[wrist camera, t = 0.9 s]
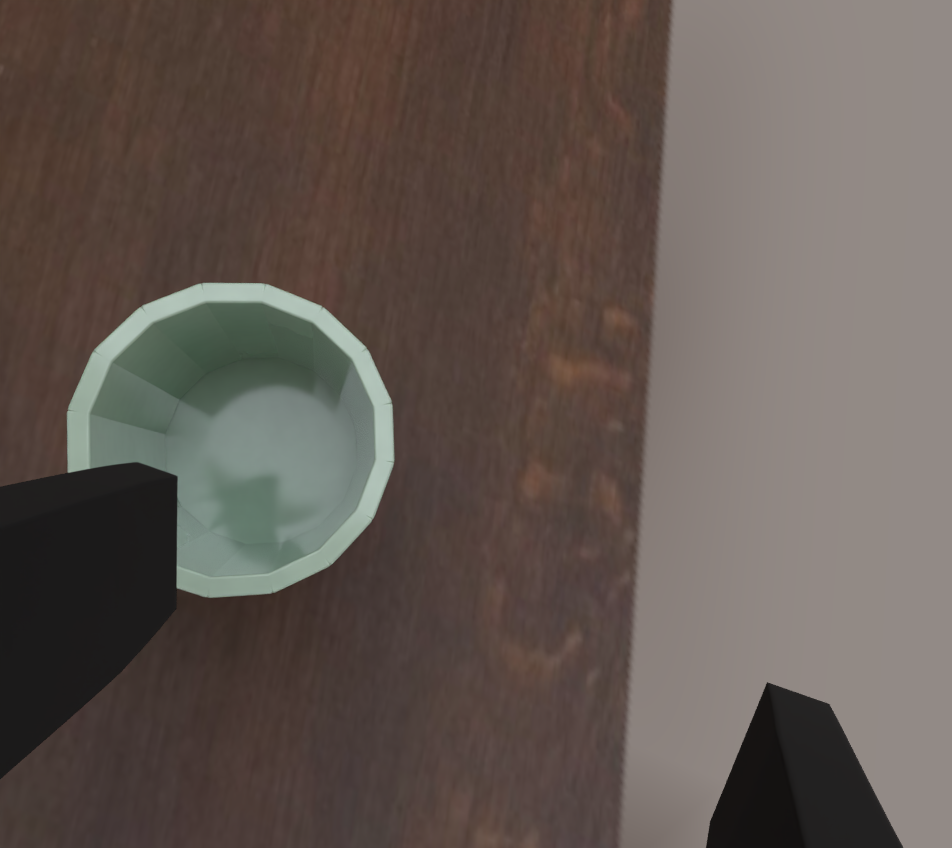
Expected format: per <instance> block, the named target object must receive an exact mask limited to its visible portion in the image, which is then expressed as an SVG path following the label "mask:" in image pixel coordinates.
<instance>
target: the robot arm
mask: <svg viewBox="0 0 952 848" xmlns="http://www.w3.org/2000/svg"><path fill="white" fill-rule="evenodd" d="M177 490H178V476H176V475H174V474H171V473H168V472H165V471H162V470H159V469H156V468H154V467H151V466H148V465H145V464H142V463H139V462H132V463H123V464H115V465H109V466H102V467H97V468H91V469H85V470H80V471H75V472H70V473H65V474H60V475H55V476H50V477H45V478H40V479H36V480H31V481H26V482H21V483H17V484H12V485H7V486H2V487H0V779H1V778H2V777H3V776H4V775H5V774H7V773H8V772H9V771H10V770H11V769H12V768H13V767H15V766H16V765H17V764H18V763H19V762H20V761H21V760H23V759H24V758H25V757H26V756H27V755H28V754H29V753H31V752H32V751H33V750H34V749H35V748H36V747H37V746H39V745H40V744H41V743H42V742H43V741H44V740H45V739H47V738H48V737H49V736H50V735H51V734H52V733H53V732H55V731H56V730H57V729H58V728H59V727H60V726H61V725H63V724H64V723H65V722H66V721H67V720H68V719H69V718H71V717H72V716H73V715H74V714H75V713H76V712H77V711H78V710H79V709H81V708H82V707H83V706H84V705H85V704H86V703H87V702H88V701H90V700H91V699H92V698H93V697H94V696H95V695H96V694H97V693H99V692H100V691H101V690H102V689H103V688H104V687H105V686H106V685H107V684H108V683H110V682H111V681H112V680H113V679H114V678H115V677H116V676H117V675H118V674H119V673H120V672H122V670H123V669H124V668H125V667H126V666H127V665H128V664H129V663H130V662H131V661H132V659H133V658H134V657H135V656H136V655H137V654H138V653H139V652H140V651H141V650H142V648H143V647H144V646H145V645H146V644H147V643H148V642H149V641H150V639H151V638H152V637H153V636H154V635H155V633H156V632H157V631H158V630H159V629H160V628H161V626H162V625H163V624H164V623H165V622H166V620H167V619H168V618H169V617H170V616H171V614H172V613H173V612H174V611H175V610H176V597H177ZM706 848H903V846H902V844H901V842H900V841H899V839H898V837H897V835H896V833H895V831H894V829H893V827H892V826H891V824H890V822H889V820H888V818H887V816H886V814H885V812H884V810H883V808H882V806H881V804H880V803H879V800H878V799H877V797H876V795H875V793H874V791H873V789H872V787H871V785H870V783H869V781H868V779H867V777H866V775H865V773H864V771H863V769H862V767H861V765H860V763H859V761H858V759H857V757H856V755H855V753H854V751H853V749H852V747H851V745H850V743H849V741H848V739H847V737H846V735H845V733H844V731H843V729H842V727H841V726H840V724H839V722H838V720H837V718H836V716H835V714H834V712H833V710H832V708H831V707H830V705H829V704H827V703H825V702H822V701H819V700H816V699H813V698H810V697H807V696H805V695H802V694H799V693H796V692H793V691H790V690H787V689H784V688H782V687H779V686H776V685H773V684H770V683H767V684H766V687H765V689H764V692H763V694H762V697H761V699H760V701H759V704H758V706H757V709H756V711H755V714H754V716H753V719H752V721H751V723H750V726H749V728H748V731H747V733H746V736H745V738H744V741H743V743H742V745H741V748H740V750H739V753H738V755H737V758H736V760H735V762H734V765H733V767H732V770H731V772H730V775H729V777H728V780H727V782H726V785H725V787H724V789H723V792H722V794H721V797H720V799H719V801H718V804H717V806H716V809H715V811H714V814H713V817H712V818H711V821H710V826H709V833H708V840H707V846H706Z"/></svg>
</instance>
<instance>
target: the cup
mask: <svg viewBox="0 0 952 848" xmlns="http://www.w3.org/2000/svg"><path fill="white" fill-rule="evenodd" d="M391 403H392V401H391V398H390V396H389V394H388V392H387V390H386V387H385V385H384V383H383V381H382V379H381V376H380V374H379V372H378V370H377V368H376V365H375V363H374V361H373V359H372V357H371V354H370V352H369V350H368V349H367V348H366V346H365V345H364V344H363V343H362V342H360V341H359V340H358V339H357V338H356V337H355V336H354V335H353V334H352V333H351V332H350V331H349V330H348V329H347V328H346V327H345V326H344V325H343V324H341V323H340V322H339V321H338V320H337V319H336V318H335V317H334V316H333V315H332V314H331V313H330V312H329V311H328V310H327V309H326V308H324V307H322V306H321V305H319V304H316V303H314V302H311V301H309V300H306V299H304V298H301V297H299V296H296V295H293V294H291V293H288V292H286V291H283V290H281V289H278V288H276V287H273V286H271V285H268V284H263V283H202V284H197V285H194V286H191V287H189V288H186V289H184V290H181V291H178V292H176V293H173V294H171V295H168V296H165V297H163V298H160V299H158V300H155V301H152V302H150V303H147V304H145V305H143V306H142V307H140V308H138V309H137V310H136V311H135V312H134V313H133V314H131V315H130V316H129V317H128V318H127V319H126V320H125V321H124V322H123V323H122V324H121V325H120V326H119V327H118V328H117V329H116V330H114V331H113V332H112V333H111V334H110V335H109V336H108V337H107V338H106V339H105V340H104V341H103V342H102V343H101V344H100V345H99V346H97V347H96V348H95V350H94V352H93V353H92V354H91V356H90V359H89V361H88V363H87V365H86V368H85V370H84V372H83V375H82V377H81V379H80V381H79V384H78V386H77V388H76V391H75V393H74V395H73V398H72V400H71V402H70V404H69V407H68V410H69V411H68V412H67V473H70V472H75V471H80V470H85V469H91V468H97V467H102V466H109V465H115V464H123V463H132V462H139V463H142V464H145V465H148V466H151V467H154V468H156V469H159V470H162V471H165V472H168V473H171V474H174V475H176V476H178V490H177V588H178V589H181V590H184V591H187V592H190V593H193V594H196V595H199V596H202V597H208V598H219V597H234V596H249V595H263V594H271V593H272V592H273V593H276V592H278V591H280V590H282V589H284V588H286V587H288V586H290V585H292V584H294V583H297V582H299V581H301V580H303V579H305V578H307V577H309V576H311V575H313V574H315V573H317V572H320V571H322V570H324V569H326V568H328V567H329V566H330V565H332V564H333V563H334V562H335V561H336V560H337V559H338V558H339V557H340V556H341V555H342V554H343V552H344V551H345V550H346V549H347V548H348V547H349V546H350V545H351V544H352V543H353V542H354V541H355V539H356V538H357V537H358V536H359V535H360V534H361V533H362V532H363V531H364V530H365V529H366V527H367V526H368V525H369V524H370V523H371V522H372V519H373V518H374V517H375V514H376V512H377V509H378V506H379V504H380V501H381V498H382V496H383V493H384V490H385V488H386V485H387V482H388V480H389V477H390V474H391V472H392V469H393V466H394V461H395V457H394V427H393V405H392V404H391Z"/></svg>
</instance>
